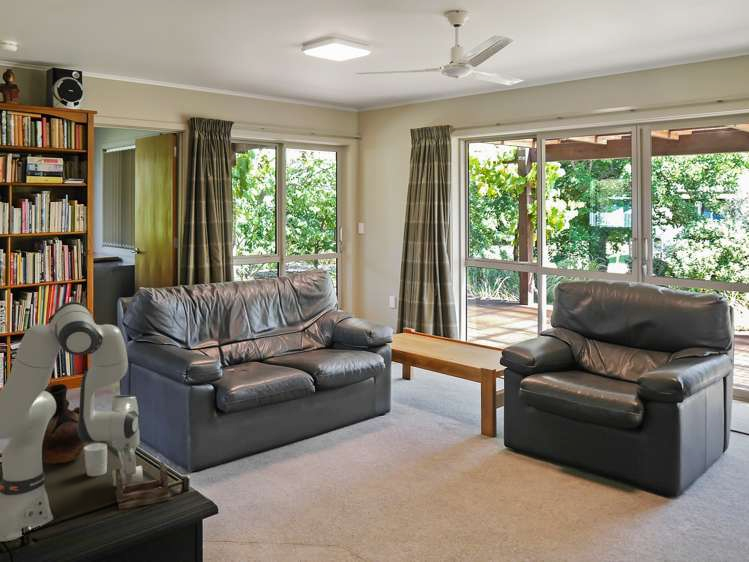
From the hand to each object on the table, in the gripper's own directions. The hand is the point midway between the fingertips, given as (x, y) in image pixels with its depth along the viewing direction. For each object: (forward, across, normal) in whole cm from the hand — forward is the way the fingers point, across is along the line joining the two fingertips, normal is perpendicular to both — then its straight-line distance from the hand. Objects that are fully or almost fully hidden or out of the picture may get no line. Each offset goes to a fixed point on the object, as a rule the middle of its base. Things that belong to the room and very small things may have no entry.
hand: (127, 478), depth 240 cm
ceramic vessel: (+3, +36, +20) cm, 41 cm away
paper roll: (+2, 0, 0) cm, 2 cm away
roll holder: (+2, -13, -3) cm, 14 cm away
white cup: (+3, +17, +9) cm, 19 cm away
